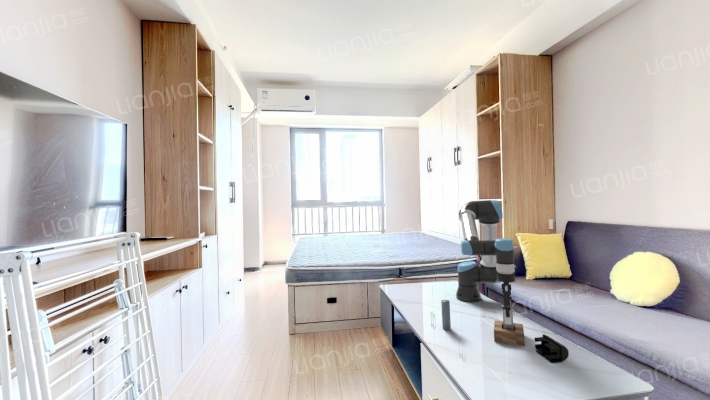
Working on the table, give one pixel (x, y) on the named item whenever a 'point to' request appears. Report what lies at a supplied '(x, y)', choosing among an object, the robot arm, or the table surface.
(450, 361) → the table surface
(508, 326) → the square peg
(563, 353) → the end cap
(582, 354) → the table surface
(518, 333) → the socket block
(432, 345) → the table surface
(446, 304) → the round peg
